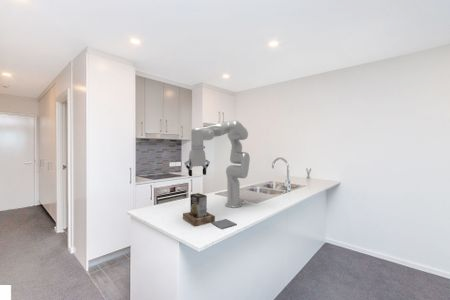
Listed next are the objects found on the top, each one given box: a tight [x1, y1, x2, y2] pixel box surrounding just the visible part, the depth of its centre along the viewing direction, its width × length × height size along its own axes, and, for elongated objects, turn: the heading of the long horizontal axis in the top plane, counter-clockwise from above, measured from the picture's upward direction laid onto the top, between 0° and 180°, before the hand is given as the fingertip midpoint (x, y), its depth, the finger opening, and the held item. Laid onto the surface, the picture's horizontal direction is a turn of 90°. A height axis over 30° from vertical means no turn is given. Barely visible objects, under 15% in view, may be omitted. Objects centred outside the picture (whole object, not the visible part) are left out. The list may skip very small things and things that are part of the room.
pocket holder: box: [182, 211, 216, 227], centre depth 131 cm, size 14×16×4 cm
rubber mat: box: [211, 218, 238, 230], centre depth 124 cm, size 11×11×1 cm
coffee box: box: [190, 192, 208, 219], centre depth 131 cm, size 9×6×16 cm
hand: (197, 175), depth 131 cm, fingers open, 9 cm apart
